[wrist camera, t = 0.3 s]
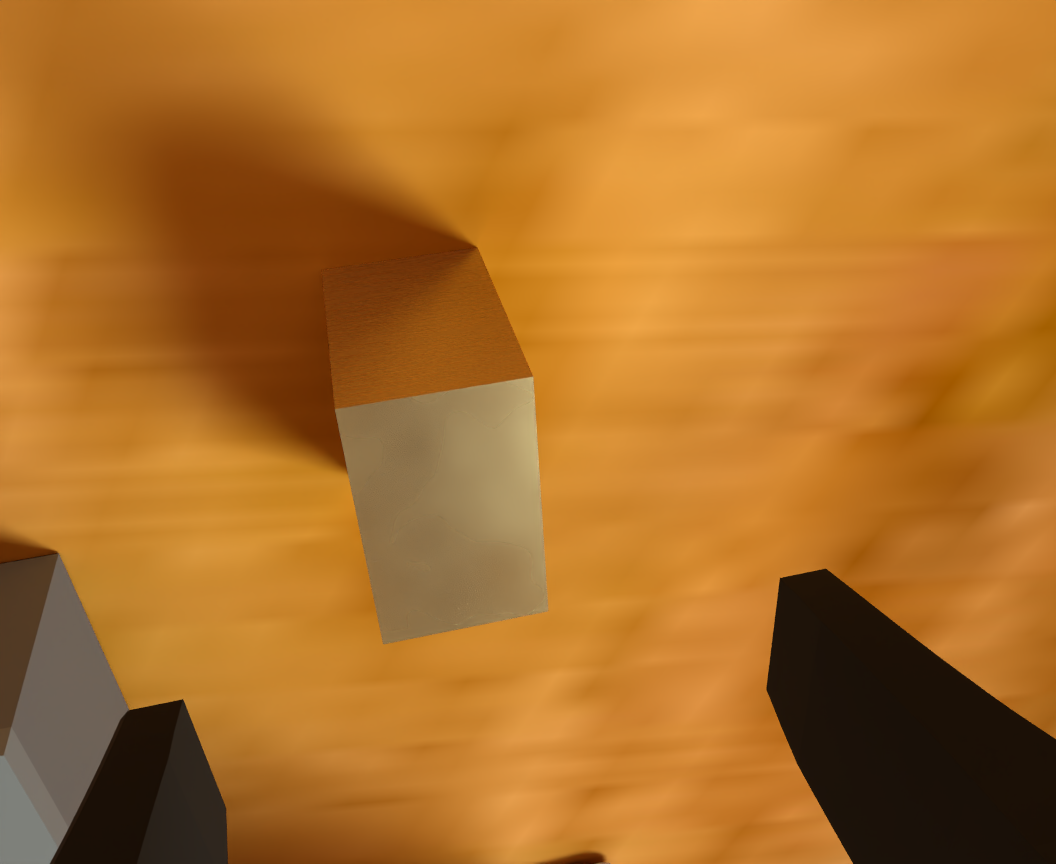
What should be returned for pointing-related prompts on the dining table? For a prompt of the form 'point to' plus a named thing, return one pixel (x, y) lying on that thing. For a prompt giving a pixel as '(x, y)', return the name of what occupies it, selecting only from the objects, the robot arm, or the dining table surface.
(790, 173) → the dining table surface
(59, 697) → the money box
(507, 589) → the wooden block
